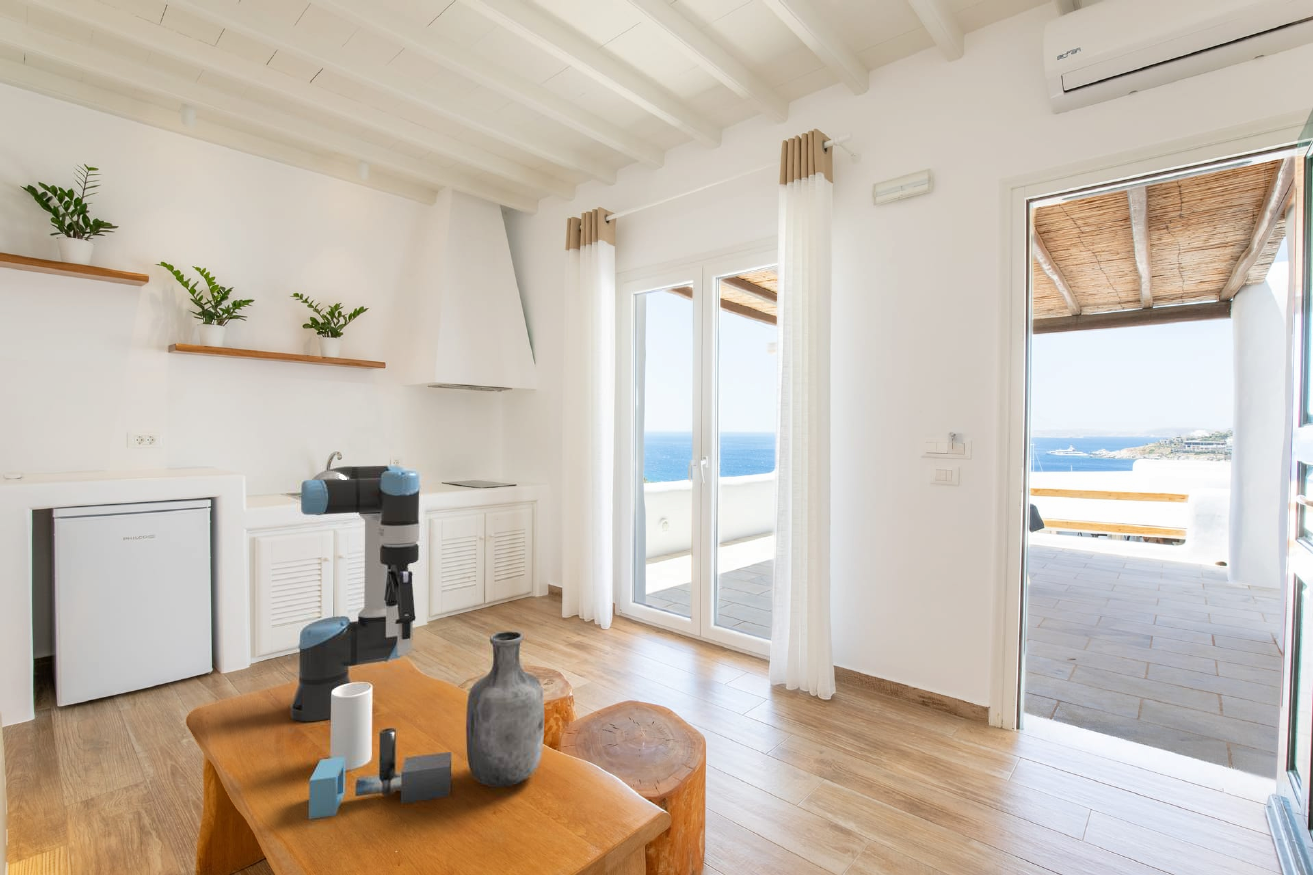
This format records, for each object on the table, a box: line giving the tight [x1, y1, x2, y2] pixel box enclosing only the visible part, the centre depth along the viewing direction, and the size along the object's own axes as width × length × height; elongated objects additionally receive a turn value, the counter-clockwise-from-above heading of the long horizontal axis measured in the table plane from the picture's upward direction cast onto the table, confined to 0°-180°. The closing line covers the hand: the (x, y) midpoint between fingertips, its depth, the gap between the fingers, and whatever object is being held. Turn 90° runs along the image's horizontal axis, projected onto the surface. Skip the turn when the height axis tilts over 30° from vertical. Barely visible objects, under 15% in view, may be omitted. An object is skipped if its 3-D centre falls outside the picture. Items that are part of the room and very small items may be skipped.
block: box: [400, 751, 452, 804], centre depth 123 cm, size 9×6×6 cm, turn 105°
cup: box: [329, 681, 373, 772], centre depth 135 cm, size 8×8×16 cm
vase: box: [465, 631, 545, 788], centre depth 128 cm, size 16×16×30 cm
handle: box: [354, 727, 402, 797], centre depth 122 cm, size 17×4×12 cm, turn 105°
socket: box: [308, 757, 346, 820], centre depth 118 cm, size 4×8×7 cm, turn 15°
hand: (398, 644), depth 127 cm, fingers open, 13 cm apart
